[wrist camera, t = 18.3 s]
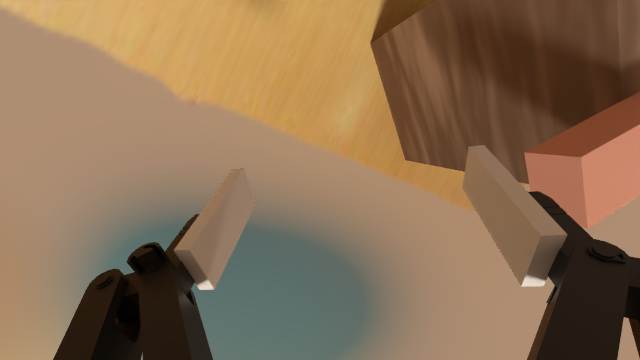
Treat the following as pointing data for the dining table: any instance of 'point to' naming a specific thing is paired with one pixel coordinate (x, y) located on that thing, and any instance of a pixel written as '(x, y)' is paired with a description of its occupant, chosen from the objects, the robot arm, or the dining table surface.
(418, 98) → the wooden block pedestal
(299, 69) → the dining table surface
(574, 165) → the terracotta clay brick
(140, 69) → the dining table surface
